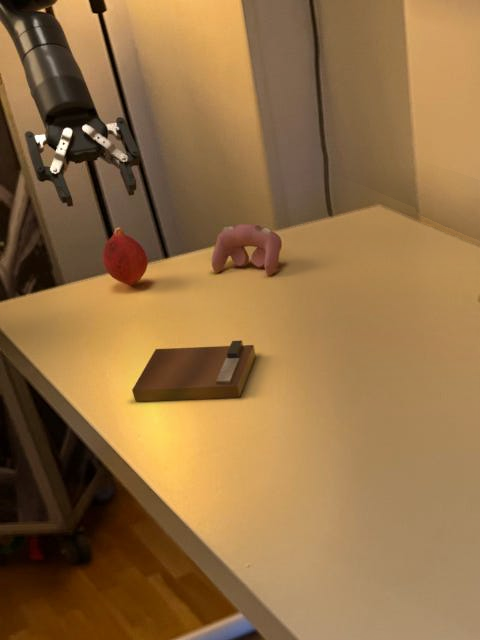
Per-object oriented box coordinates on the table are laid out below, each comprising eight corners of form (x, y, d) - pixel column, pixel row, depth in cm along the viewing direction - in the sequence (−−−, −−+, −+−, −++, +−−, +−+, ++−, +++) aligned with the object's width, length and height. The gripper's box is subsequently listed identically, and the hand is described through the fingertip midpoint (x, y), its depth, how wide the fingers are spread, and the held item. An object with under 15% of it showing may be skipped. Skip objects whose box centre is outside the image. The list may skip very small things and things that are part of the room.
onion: (128, 297, 137) (112, 238, 132) (103, 288, 140) (86, 231, 134) (161, 283, 140) (146, 225, 135) (136, 275, 143) (121, 218, 138)
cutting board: (135, 402, 112) (129, 382, 110) (158, 360, 120) (153, 341, 119) (239, 397, 112) (235, 378, 110) (255, 356, 120) (252, 337, 119)
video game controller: (284, 278, 144) (286, 227, 142) (271, 274, 140) (272, 222, 138) (223, 275, 146) (223, 224, 144) (208, 271, 142) (208, 219, 140)
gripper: (3, 80, 132) (46, 191, 132) (109, 66, 137) (151, 172, 136) (11, 116, 139) (52, 222, 139) (112, 101, 144) (152, 203, 143)
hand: (101, 197), depth 137 cm, fingers open, 8 cm apart
